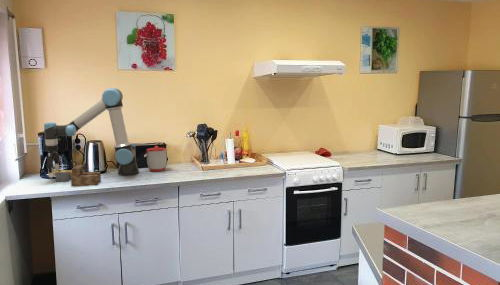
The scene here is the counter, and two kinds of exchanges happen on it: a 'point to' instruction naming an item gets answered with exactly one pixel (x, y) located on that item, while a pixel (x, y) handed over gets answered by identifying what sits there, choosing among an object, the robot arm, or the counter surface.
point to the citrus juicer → (156, 158)
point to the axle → (62, 171)
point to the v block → (62, 177)
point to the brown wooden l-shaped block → (84, 177)
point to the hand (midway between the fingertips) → (54, 174)
